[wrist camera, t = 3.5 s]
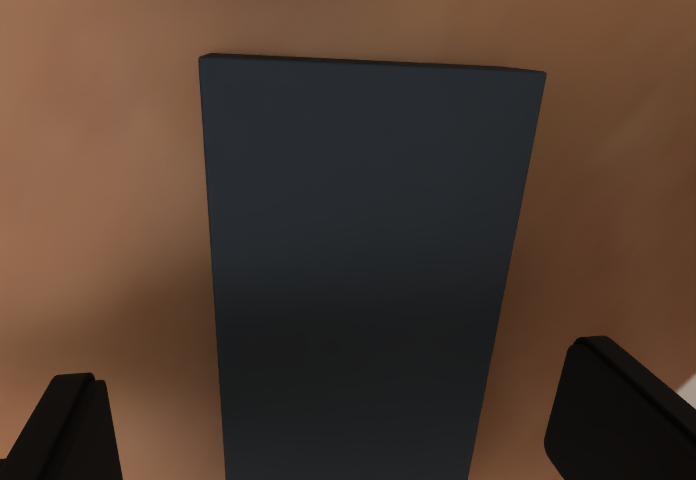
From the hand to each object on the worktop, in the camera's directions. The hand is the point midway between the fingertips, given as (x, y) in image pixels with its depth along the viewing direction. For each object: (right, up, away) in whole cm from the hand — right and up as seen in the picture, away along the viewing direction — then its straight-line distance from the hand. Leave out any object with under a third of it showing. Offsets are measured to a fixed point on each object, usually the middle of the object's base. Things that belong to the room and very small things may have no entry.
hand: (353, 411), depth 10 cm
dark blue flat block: (0, +1, +3) cm, 3 cm away
